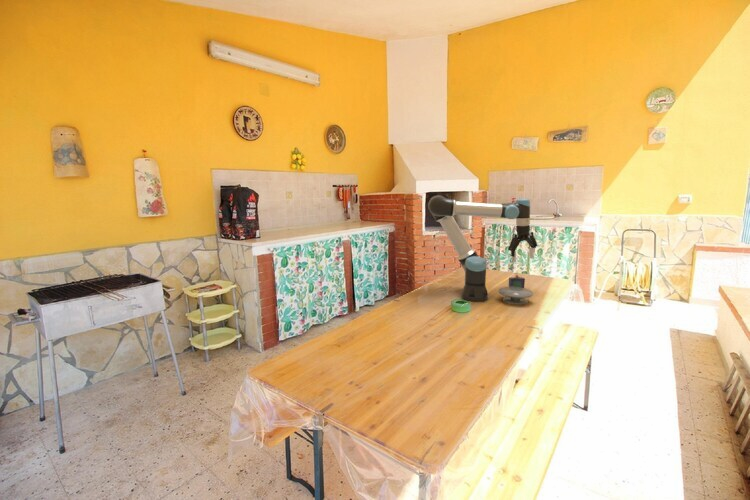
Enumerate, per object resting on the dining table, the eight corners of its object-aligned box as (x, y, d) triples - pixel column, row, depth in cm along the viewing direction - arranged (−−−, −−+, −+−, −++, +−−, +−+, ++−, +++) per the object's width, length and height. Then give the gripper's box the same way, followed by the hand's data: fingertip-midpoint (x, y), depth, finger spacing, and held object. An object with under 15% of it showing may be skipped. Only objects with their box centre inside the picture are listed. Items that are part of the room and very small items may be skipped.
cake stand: (511, 308, 191) (512, 297, 190) (491, 298, 208) (492, 288, 207) (539, 304, 196) (540, 294, 194) (518, 295, 213) (518, 285, 211)
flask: (508, 292, 219) (509, 275, 217) (507, 290, 221) (508, 273, 219) (524, 292, 217) (525, 275, 215) (523, 291, 220) (524, 274, 218)
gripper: (510, 228, 203) (511, 264, 207) (544, 223, 212) (543, 258, 215) (501, 226, 210) (502, 262, 214) (534, 222, 218) (534, 256, 222)
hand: (523, 260), depth 214 cm, fingers open, 13 cm apart
